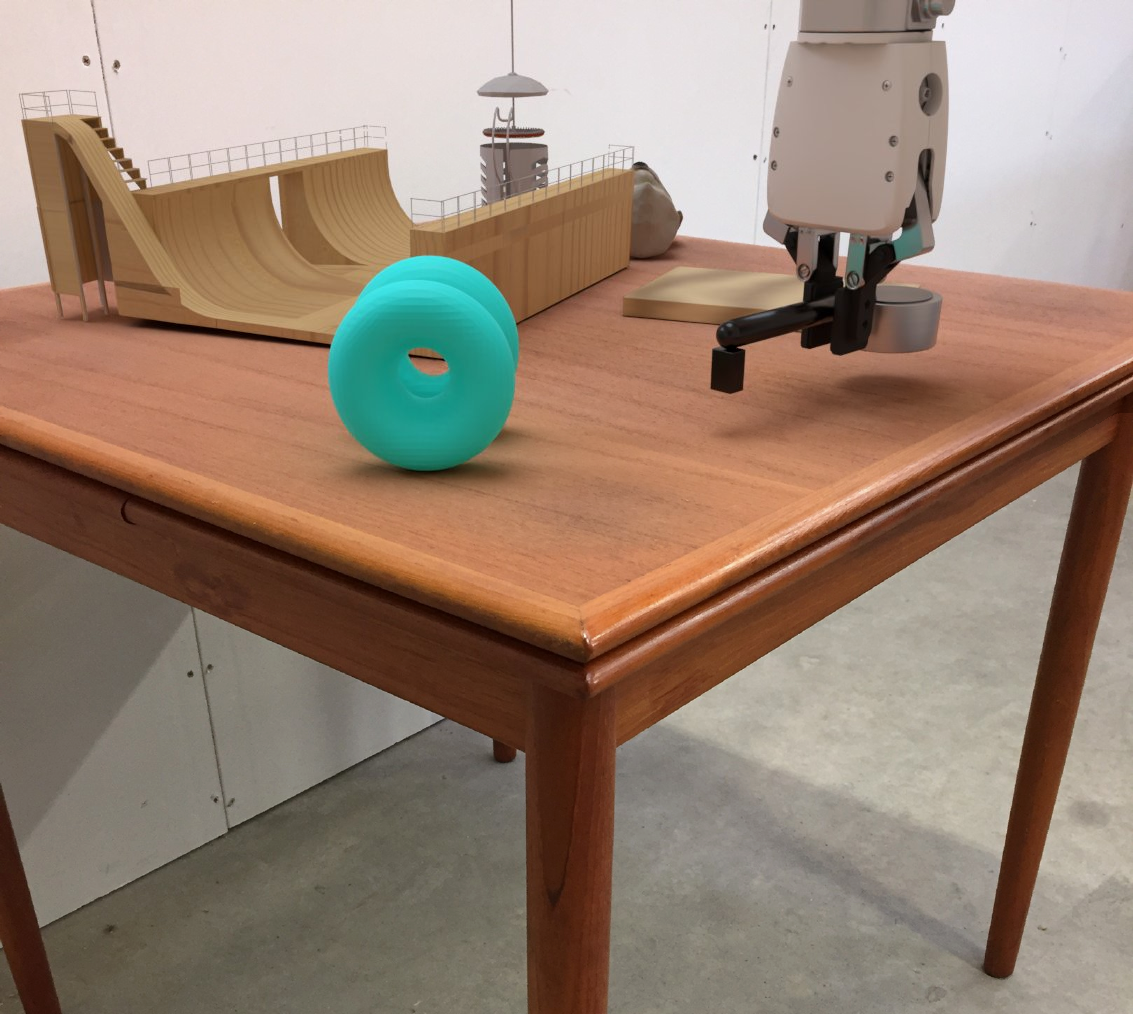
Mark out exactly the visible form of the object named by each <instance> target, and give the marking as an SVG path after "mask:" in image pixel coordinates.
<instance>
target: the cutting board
mask: <svg viewBox="0 0 1133 1014" xmlns="http://www.w3.org/2000/svg"><path fill="white" fill-rule="evenodd" d="M843 282H844V287H845V278H843ZM878 285H893V286H909V287H917V288H921V286H922V285H921V284H915V283H904V282H892V281H891V282H890V281H884V282H882V283H880V284H877V286H878ZM803 292H804V282H802V281H800V280H799V279H798V277H797V275H796V274H786V273H785V274H784V273H773V272H758V271H748V270H747V271H746V270H734V269H733V270H732V269H721V268H720V269H719V268H706V267H692V266H681V265H680V266H675V267H674V268H672V269H671V270H669V271H667V272H665V273H663V274H662V275H660V276H658V277H656V278H654V279H653V280H651V281H648V283H646V284H644V285H642V286H640V287H638V288H637V289H635V290H633V291H631V292H629V293H628V294H626V295H624V296H622V316H624V317H634V318H635V317H637V318H644V319H645V318H646V319H657V320H666V321H677V322H687V323H688V322H690V323H699V324H700V323H701V324H711V325H720V324H721V323H723V322H724V321H727V320H731V319H735V318H739V317H743V316H747V315H751V314H755V313H759V312H763V311H767V310H771V309H775V308H779V307H783V306H787V305H791V304H795V303H799V302H803ZM801 331H802V330H799V331H798V332H799V333H801Z"/></svg>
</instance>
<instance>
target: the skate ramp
mask: <svg viewBox="0 0 1133 1014" xmlns="http://www.w3.org/2000/svg"><path fill="white" fill-rule="evenodd" d="M54 92H66V97H67V103H63V104H61V106H68V109H69V114H60V115H53V113H52V107H58V106H60V104H53V105H52V104H51V101H50V95H46V93H54ZM70 92H79V90H78V89H60V90H47V91H35V92H23V93H22V92H21V93H18V96H19V101H20V108H21V113H22V118H23V119H20V122H21V127H22V133H23V137H24V143H25V148H26V155H27V159H28V165H29V170H30V176H31V182H32V187H33V192H34V196H35V197H34V198H35V202H36V212H37V217H38V222H39V228H40V233H41V238H42V243H43V249H44V254H45V260H46V265H47V266H46V267H47V270H48V276H49V282H50V287H51V292H53V293H54V298H55V304H56V310H57V316H58V318H61V319H62V318H64V311H63V305H62V299H61V295H66V296H74V297H78V298H79V303H80V308H81V314H82V320H83V322H89V315H88V310H87V304H86V303H87V302H86V298H85V297H86V296H85V292H84V291H85V290H84V285H85V284H87V283H91V282H96V281H97V286H98V293H99V299H100V305H101V306H102V307H103V312H104V315H106V316H109V315H110V308H109V303H108V302H109V301H108V296H107V295H108V294H107V290H106V284H105V282H110V283H111V282H112V283H113V285H114V292H115V298H116V304H117V311H118V315H119V316H125V317H129V318H138V319H144V320H153V321H160V322H167V323H173V324H181V325H189V326H190V325H191V326H198V327H205V328H213V329H219V330H220V329H222V330H227V331H228V330H229V331H235V332H240V333H241V332H242V333H249V334H256V335H263V336H270V337H277V338H285V339H293V340H298V341H307V342H313V343H320V344H328V345H331V344H332V341H333V338H334V336H335V333H336V331H337V329H338V327H339V325H340V323H341V322H342V320H343V319H344V317H345V316H346V314H347V313H348V312H349V311H350V309H351V308H352V307H353V306H354V305H355V303H356V301H357V299H358V297H359V296H360V294H361V292H362V291H363V290H364V288H365V287H366V286H367V284H368V283H369V282H370V281H371V280H372V279H373V278H374V277H375V276H376V275H377V274H378V273H380V272H381V271H382V270H384V269H385V268H387V267H388V266H390V265H392V264H394V263H396V262H399V261H401V260H404V259H408V258H411V257H417V256H441V257H447V258H451V259H454V260H457V261H460V262H462V263H465V264H467V265H469V266H471V267H472V268H474V269H476V270H477V271H479V272H480V273H482V274H483V275H484V276H485V277H486V278H488V279H489V280H490V281H491V282H492V283H493V284H494V285H495V286H496V288H497V289H498V290H499V291H500V292H501V294H502V295H503V297H504V298H505V300H506V302H507V303H508V305H509V307H510V309H511V312H512V314H513V317H514V320H515V323H516V324H518V323H520V322H521V321H524V320H525V319H527V318H529V317H532V316H534V315H535V314H537V313H540V312H541V311H543V310H545V309H548V308H549V307H552V306H553V305H555V304H557V303H559V302H561V301H562V300H565V299H567V298H569V297H570V296H573V295H575V294H576V293H578V292H580V291H582V290H584V289H586V288H588V287H590V286H592V285H593V284H596V283H597V282H600V281H601V280H602V281H603V279H606V278H607V277H609V276H611V275H614V274H615V273H617V272H619V271H621V270H623V269H625V268H630V261H631V260H630V259H631V256H630V246H631V227H632V209H633V191H634V180H635V170H629V168H627V169H626V168H625V167H624V166H625V162H626V161H629V160H631V163H632V164H634V163H635V162H634V160H635V159H634V158H635V151H634V150H632V153H631V157H629V158H628V157H625V150H627V149H631V148H632V149H633V148H634V146H631V145H623V147H627V148H621V149H619V150H615V151H612V152H608V153H606V154H602V155H598V156H594V157H591V158H587V159H584V160H580V161H576V162H573V163H570V164H567V165H563V166H559V167H556V168H551V169H548V171H545V170H544V171H545V172H548V173H549V172H551V171H554V170H557V180H555V181H552V182H548V184H547V177H548V175H547V176H546V183H545V185H542V186H545V187H544V188H541V189H539V188H538V187H536V188H537V190H534V189H535V188H534V180H533V184H532V189H529V190H532V191H531V192H528V193H525V194H522V195H518V196H515V197H512V198H509V199H506V197H509V196H506V183H509V182H506V183H503V184H504V197H503V198H504V200H502V201H499V202H496V203H493V204H489V205H486V206H483V207H482V205H483V204H486V203H483V204H482V203H480V204H477V192H481V189H478V190H475V191H471V192H468V193H464V194H461V195H457V196H453V197H450V198H446V199H443V200H437V199H436V200H435V199H434V200H433V199H423V198H415V197H414V198H413V197H410V198H409V199H410V213H411V218H410V217H409V216H408V215H407V214H406V212H405V211H404V209H403V207H402V206H401V204H400V203H399V200H398V199H397V196H396V193H395V191H394V187H393V185H392V181H391V176H390V169H389V153H388V152H389V151H388V148H387V145H388V144H387V143H385V148H377V147H368V146H367V147H366V146H364V147H363V146H362V147H358V148H356V147H357V146H356V145H357V144H356V140H357V139H358V140H359V139H363V142H364V144H366V139H367V144H366V145H369V138H371V136H368V132H363V136H362V137H354V138H350V139H349V141H352V140H353V143H354V144H353V146H354V148H351V149H347V150H340V151H337V152H331V153H329V147H328V145H330V144H336V143H339V147H340V149H343V142H346V141H348V139H345V140H344V139H342V137H339V141H333V142H326V143H321V144H316V145H313V143H311V145H310V146H309V145H308V146H305V147H299V148H298V141H297V140H295V141H294V147H295V148H292V149H287V150H282V144H281V143H282V142H281V141H284V140H291V139H297V138H303V137H308V136H309V139H310V141H309V142H312V139H313V136H315V135H321V134H324V136H325V140H328V133H333V132H339V133H342V131H347V130H352V129H353V136H356V130H355V129H358V128H360V126H355V127H351V128H349V127H348V128H344V129H338V130H337V129H336V130H331V131H326V132H325V131H324V132H318V133H311V134H306V135H300V136H293V137H287V138H281V139H275V140H269V141H263V142H255V143H250V144H243V145H238V146H231V147H225V148H218V149H213V150H206V151H200V152H193V153H187V154H181V155H175V156H168V157H163V158H155V159H150V160H148V161H147V167H148V173H149V180H150V186H147V180H148V177H141V169H140V167H134V165H133V158H130V157H126V156H125V152H124V147H119V146H117V145H116V144H117V143H116V138H115V137H111V136H109V135H110V134H109V130H108V129H109V128H108V127H103V123H102V116H101V115H100V114H99V109H98V103H97V94H96V91H93V90H92V91H90V90H80V93H81V92H83V93H94V99H95V107H96V111H97V115H87V114H75V113H74V110H73V109H74V108H73V106H81V104H80V103H72V97H71V93H70ZM40 94H42V95H40ZM68 94H69V95H68ZM24 96H33V97H42V98H43V103H44V105H42V106H40V108H44V109H38V112H39V111H41V112H45V115H46V116H43V117H42V116H41V117H40V116H39V117H31V118H27V113H26V110H28V111H37V108H39V106H32V107H25V101H24ZM46 97H47V98H48V99H47V98H46ZM47 100H48V103H47ZM82 106H84V107H85V106H86V107H94V105H93V104H91V105H90V104H82ZM48 107H49V109H50V110H49V109H48ZM49 111H50V115H49ZM24 115H25V116H24ZM365 127H366V128H367V125H364V124H363V125H362V126H361V128H365ZM370 127H372V128H380V126H377V125H370ZM383 128H384V130H385V131H384V132H385V133H384V135H387V127H386V126H383ZM365 133H366V135H365ZM374 138H376V139H383V136H382V137H381V136H374ZM271 142H278V147H279V151H275V152H269V153H266V152H265V151H266V150H265V149H263V150H262V154H259V155H253V156H248V155H249V154H247V152H248V146H253V145H258V144H261V146H262V148H264V147H265V144H266V143H271ZM323 145H324V146H325V147H326V148H325V151H326V153H325V154H320V155H316V156H315V155H313V153H314V147H318V146H323ZM610 146H613V147H621V145H620V144H619V145H618V144H616V145H615V144H608V148H610ZM240 147H244V151H245V153H244V154H246V156H245V157H241V158H236V159H235V158H234V159H230V157H231V156H229V154H230V149H234V148H240ZM307 148H310V152H311V153H310V154H311V156H310V157H305V158H299V156H298V154H299V153H295V159H293V160H288V161H283V158H282V157H283V156H282V153H284V152H289V151H297V150H300V149H301V150H302V149H307ZM222 150H226V156H227V157H228V159H227V160H223V161H217V162H212V159H211V156H210V155H211V152H216V151H222ZM621 151H622V156H618V158H619V159H620V158H621V159H622V160H621V161H617V162H615V158H616V153H617V152H621ZM203 153H208V154H207V158H208V159H207V160H208V161H209V162H208V163H207V164H201V165H195V166H192V159H191V158H190V157H191V156H192V155H197V154H198V155H199V154H203ZM278 153H279V161H280V162H278V163H272V164H267V162H266V161H267V160H264V161H263V165H261V166H256V167H250V166H249V164H248V162H249V158H255V157H256V158H257V157H260V156H261V157H262V156H263V157H262V158H263V159H265V158H266V156H267V155H272V154H278ZM610 154H611V155H610ZM612 154H613V155H612ZM607 155H608V157H607V158H608V160H607V165H605V157H606V156H607ZM111 156H112V157H113V159H112V157H111ZM184 156H187V158H188V160H189V161H188V165H189V166H188V167H184V168H183V167H182V168H178V169H172V164H171V158H172V159H173V158H178V157H184ZM599 157H602V166H601V167H598V168H595V159H596V158H599ZM610 158H612V163H610ZM243 159H245V162H246V164H247V166H246V168H245V169H240V170H235V171H232V168H231V165H230V164H231V161H232V162H233V161H237V160H238V161H239V160H243ZM160 160H167V165H168V166H169V167H168V170H167V171H161V172H155V173H151V171H150V170H151V169H150V163H149V162H153V161H160ZM589 160H592V161H591V165H592V166H591V170H589V171H584V168H583V167H584V162H586V161H589ZM116 163H118V164H119V166H120V167H121V168H122V169H118V167H117V165H116ZM220 163H227V164H228V167H229V168H228V172H225V173H219V174H215V175H214V174H212V173H213V167H212V165H215V164H220ZM579 163H581V165H580V167H581V168H580V173H579V174H575V175H572V166H573V165H575V164H579ZM619 163H622V168H616V167H615V165H616V164H619ZM204 166H208V169H209V170H210V171H209V175H208V176H202V177H198V178H194V177H193V175H192V174H193V169H192V168H198V167H204ZM567 166H568V167H569V176H568V177H565V178H561V179H560V172H561V171H560V169H562V168H565V167H567ZM610 166H612V167H610ZM185 169H186V170H188V169H189V174H190V175H189V176H191V177H190V179H187V180H186V179H185V180H181V181H175V182H174V180H173V173H172V172H175V171H181V170H185ZM544 171H542V172H541V173H544ZM583 171H584V172H583ZM121 173H126V174H127V176H129V177H130V178H131V179H126V180H125V179H124V177H123V176H122V174H121ZM164 173H169V180H170V183H165V184H160V185H155V186H154V185H153V183H152V175H158V174H164ZM541 173H538V174H541ZM534 175H537V174H534ZM534 175H531V176H534ZM273 177H277V185H278V195H279V206H280V208H279V209H280V218H281V224H280V221H279V219H278V217H277V214H276V210H275V207H274V203H273V197H272V191H271V190H272V189H271V180H270V179H271V178H273ZM527 177H530V176H527ZM527 177H524V178H527ZM521 179H523V178H520V179H517V180H520V194H521V193H522V192H521ZM513 181H516V180H513ZM513 181H510V182H513ZM129 183H130V184H131V183H135V185H136V186H137V187H138V189H133V190H131V189H130V187H129V186H128V184H129ZM499 185H502V184H499ZM499 185H496V186H499ZM547 185H548V186H547ZM492 187H495V186H492ZM492 187H489V188H492ZM539 187H541V186H539ZM486 189H488V188H486V187H484V189H482V190H486ZM526 191H528V190H526ZM523 192H525V191H523ZM470 194H474V198H473V206H470V207H468V208H465V209H461V210H459V204H460V197H464V196H467V195H470ZM516 194H519V193H516ZM513 195H515V194H513ZM510 196H512V195H510ZM453 199H457V200H456V201H457V202H456V203H457V204H456V205H457V206H456V207H457V210H456V211H455V212H451V213H448V214H445V202H446V201H450V200H453ZM500 199H502V198H500ZM412 200H418V201H428V202H437V203H440V207H441V212H440V213H442V215H431V214H422V213H413V201H412ZM497 200H499V199H497ZM493 201H496V200H493ZM493 201H491V202H493ZM486 202H487V201H486ZM487 203H489V202H487ZM469 209H470V210H469ZM466 210H467V211H466ZM463 211H464V212H463ZM460 212H461V213H460ZM453 214H454V215H453ZM413 215H415V216H416V215H417V216H424V217H425V216H426V217H435V218H440V219H438V220H435V221H431V222H428V223H425V224H422V225H419V226H418V224H416V223H415V222H414V221H413ZM450 215H451V216H450ZM447 216H448V217H447ZM408 355H413V356H421V357H429V358H436V359H442V360H444V358H443V357H442V356H441V355H440V354H438V353H437V352H435V351H434V350H431V349H428V348H415V349H412V350H410V351H408Z"/></svg>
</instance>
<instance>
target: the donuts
mask: <svg viewBox="0 0 1133 1014" xmlns="http://www.w3.org/2000/svg"><path fill="white" fill-rule="evenodd" d="M415 348H428V349H431V350H434V351H435V352H437V353H438V354H440V355H441V356H442V357H443V358H444V359H443V360H444V361H445V363H446V364H447V367H448V370H447V371H446V372H444V373H440V374H435V375H434V374H428V373H425V372H423V371H421V370H420V369H418V368H417V367H416V366H415V364H414V363H413V361H411V359H410V356H409V354H408V351H410V350H412V349H415ZM328 353H329V354H328V359H327V378H328V387H329V392H330V396H331V399H332V402H333V405H334V408H335V411H336V412H337V415H338V417H339V418H340V421H341V423H342V424H343V425H344V427H345V428H346V430H347V431H348V432H349V433H350V435H351V436H352V437H353V438H354V440H356V442H357V443H359V445H361V446H362V447H363V448H364V449H365V450H367V451H368V452H369V453H370V454H371V455H373V456H375V457H377V458H378V459H380V460H382V461H383V462H386V463H388V464H390V465H393V466H395V467H399V468H402V469H407V470H412V471H418V472H419V471H421V472H433V471H441V470H446V469H451V468H454V467H457V466H459V465H462V464H464V463H466V462H468V461H470V460H472V459H473V458H475V457H477V456H478V455H480V454H481V453H482V452H483V451H484V450H486V449H487V448H488V447H489V446H490V445H491V444H492V443H493V442H494V441H495V439H497V437H498V436H499V434H500V433H501V431H502V430H503V428H504V426H505V425H506V423H507V420H508V418H509V415H510V414H511V411H512V407H513V403H514V397H515V391H516V374H517V371H518V365H519V360H520V359H519V358H520V357H519V356H520V338H519V332H518V327H517V323H515V320H514V317H513V314H512V312H511V309H510V307H509V305H508V303H507V302H506V300H505V298H504V297H503V295H502V294H501V292H500V291H499V290H498V289H497V288H496V286H495V285H494V284H493V283H492V282H491V281H490V280H489V279H488V278H486V277H485V276H484V275H483V274H482V273H480V272H479V271H477V270H476V269H474V268H472V267H471V266H469V265H467V264H465V263H462V262H460V261H457V260H454V259H451V258H447V257H441V256H417V257H411V258H408V259H404V260H401V261H399V262H396V263H394V264H392V265H390V266H388V267H387V268H385V269H384V270H382V271H381V272H380V273H378V274H377V275H376V276H375V277H374V278H373V279H372V280H371V281H370V282H369V283H368V284H367V286H366V287H365V288H364V290H363V291H362V292H361V294H360V296H359V297H358V299H357V301H356V303H355V305H354V306H353V307H352V308H351V309H350V311H349V312H348V313H347V314H346V316H345V317H344V319H343V320H342V322H341V323H340V325H339V327H338V329H337V331H336V333H335V336H334V338H333V341H332V344H330V348H329V351H328Z"/></svg>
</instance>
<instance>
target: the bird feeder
mask: <svg viewBox="0 0 1133 1014" xmlns="http://www.w3.org/2000/svg"><path fill="white" fill-rule="evenodd" d="M510 34H511V35H510V36H511V39H510V40H511V42H510V43H511V71H510V72H508V73H507V75H502V76H498V77H494V78H492V79H490V80H488V81H487V82H485V83H484V84H483V85H482V86H480V87H479V89H477V90H476V93H477V96H478V97H486V98H509V99H510V98H511V99H512V100H511V101H512V102H511V103H512V107H510V109H509V112H508V118H506V119H505V118H502V117H501V116H500V108H499V107H498V106H497V107H495V109H494V113H493V121H492V127H487V128H483V130H482V134H483V136H485V137H486V138H491V142H489V143H483V144H480V145H479V157H480V158H481V159H482V161H483V162H484V163H482V162H481V161H480V162H479V163H480V164H479V165H480V170H481V171H482V173H483V175H482V174H480V182H481V184H482V185H483V186H484V187H483V186H482V185H481V186H480V190H481V191H480V193H481V195H482V197H483V198H482V197H481V199H480V201H481V204H483V203H486V204H483V205H481V207H483V206H486V205H489V204H493V203H496V202H499V201H502V200H504V198H503V197H504V184H503V183H506V182H509V183H506V196H509V197H506V199H509V198H512V197H515V196H518V195H522V194H525V193H528V192H531V191H532V190H529V189H532V184H533V180H534V188H535V189H534V190H538V189H541V188H544V187H545V186H542V185H545V183H546V176H547V184H548V185H547V186H549V177H548V174H549V171H548V170H549V164H548V162H549V146H548V144H545V143H537V142H522V141H521V142H519V141H516V142H512V141H511V142H510V139H534V138H541V137H543V136H544V135H545V133H546V131H545V130H544V129H543V128H540V127H538V128H537V127H524V126H523V127H520V128H519V126H516V121H515V118H516V117H515V115H516V114H515V112H516V111H515V98H516V99H517V98H530V97H531V98H532V97H543V96H547V94H548V92H549V90H550V89H548V88H547V87H546V86H545V85H544V84H542V82H540V81H538V80H536V79H534V78H532V77H529V76H524V75H521V74H518V73H517V72H515V61H514V60H515V59H514V55H515V54H514V52H515V50H514V0H510ZM496 119H498V121H500V122H502V123H507V124H506V127H505V126H504V127H503V126H501V127H499V126H498V127H496ZM511 122H512V125H511V127H510V124H511ZM495 138H496V139H505V140H506V141H505V142H495ZM484 164H485V165H484ZM537 164H538V166H537ZM545 171H548V172H545ZM541 172H544V173H541ZM538 173H541V174H538ZM534 174H537V175H534ZM531 175H534V176H531ZM527 176H530V177H527ZM524 177H527V178H524ZM537 177H539V178H537ZM520 178H523V179H521V192H522V193H521V194H520V180H517V179H520ZM513 180H516V181H513ZM510 181H513V182H510ZM499 184H502V185H499ZM496 185H499V186H496ZM492 186H495V187H492ZM539 186H541V187H539ZM489 187H492V188H489ZM536 187H538V188H536ZM485 188H488V189H485ZM482 189H485V190H482ZM526 190H528V191H526ZM523 191H525V192H523ZM516 193H519V194H516ZM513 194H515V195H513ZM510 195H512V196H510ZM500 198H502V199H500ZM497 199H499V200H497ZM493 200H496V201H493ZM491 201H493V202H491ZM487 202H489V203H487Z"/></svg>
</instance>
